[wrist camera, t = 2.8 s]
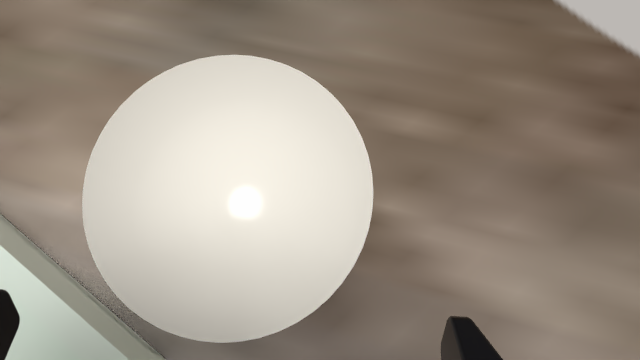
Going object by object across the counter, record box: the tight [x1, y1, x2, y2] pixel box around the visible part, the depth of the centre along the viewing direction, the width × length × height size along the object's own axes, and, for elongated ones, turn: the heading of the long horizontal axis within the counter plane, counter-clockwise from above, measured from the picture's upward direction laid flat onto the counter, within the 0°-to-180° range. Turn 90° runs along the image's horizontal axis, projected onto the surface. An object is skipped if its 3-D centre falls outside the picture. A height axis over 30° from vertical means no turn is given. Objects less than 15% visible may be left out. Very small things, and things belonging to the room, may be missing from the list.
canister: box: [82, 55, 373, 343], centre depth 15 cm, size 6×6×11 cm
